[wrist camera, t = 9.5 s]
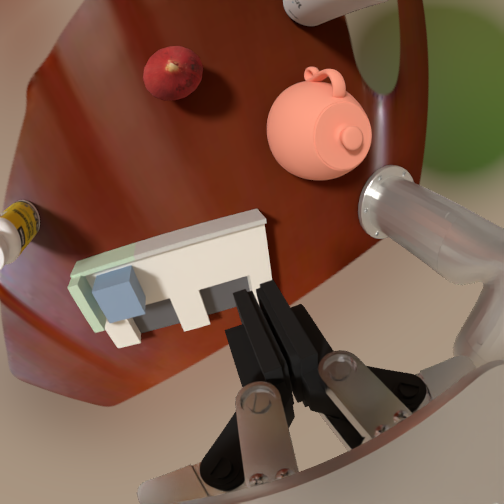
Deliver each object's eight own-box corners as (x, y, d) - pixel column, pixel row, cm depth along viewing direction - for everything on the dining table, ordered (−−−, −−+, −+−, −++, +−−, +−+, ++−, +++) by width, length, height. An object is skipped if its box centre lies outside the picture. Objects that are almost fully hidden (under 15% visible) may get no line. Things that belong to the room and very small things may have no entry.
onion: (200, 55, 24) (212, 37, 18) (196, 102, 27) (205, 98, 20) (148, 55, 23) (143, 36, 16) (144, 102, 25) (136, 98, 19)
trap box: (257, 208, 35) (272, 225, 31) (269, 294, 43) (282, 316, 38) (76, 261, 31) (66, 285, 27) (118, 336, 39) (116, 363, 34)
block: (131, 264, 31) (129, 281, 28) (145, 296, 34) (145, 314, 31) (96, 275, 30) (91, 292, 27) (112, 305, 33) (109, 323, 30)
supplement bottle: (47, 227, 28) (17, 267, 20) (21, 243, 27) (-10, 284, 19) (30, 191, 25) (-9, 221, 17) (4, 210, 24) (-34, 243, 16)
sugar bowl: (265, 180, 34) (301, 208, 26) (252, 70, 27) (288, 56, 18) (346, 168, 36) (395, 189, 28) (341, 71, 29) (394, 67, 21)
